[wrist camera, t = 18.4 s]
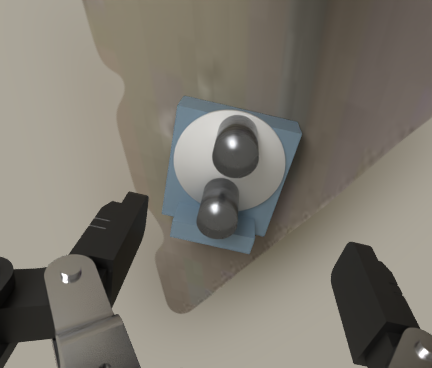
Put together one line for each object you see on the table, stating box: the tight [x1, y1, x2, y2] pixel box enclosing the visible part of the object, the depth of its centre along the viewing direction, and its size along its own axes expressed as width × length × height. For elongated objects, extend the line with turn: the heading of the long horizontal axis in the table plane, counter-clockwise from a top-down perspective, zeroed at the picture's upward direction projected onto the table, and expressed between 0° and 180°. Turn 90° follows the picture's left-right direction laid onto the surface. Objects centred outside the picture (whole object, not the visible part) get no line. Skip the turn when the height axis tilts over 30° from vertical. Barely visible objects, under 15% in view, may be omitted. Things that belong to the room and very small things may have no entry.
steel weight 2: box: [196, 178, 239, 239], centre depth 37 cm, size 4×4×6 cm
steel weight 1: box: [212, 115, 259, 178], centre depth 33 cm, size 4×4×6 cm
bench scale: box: [162, 96, 302, 254], centre depth 39 cm, size 16×14×8 cm
